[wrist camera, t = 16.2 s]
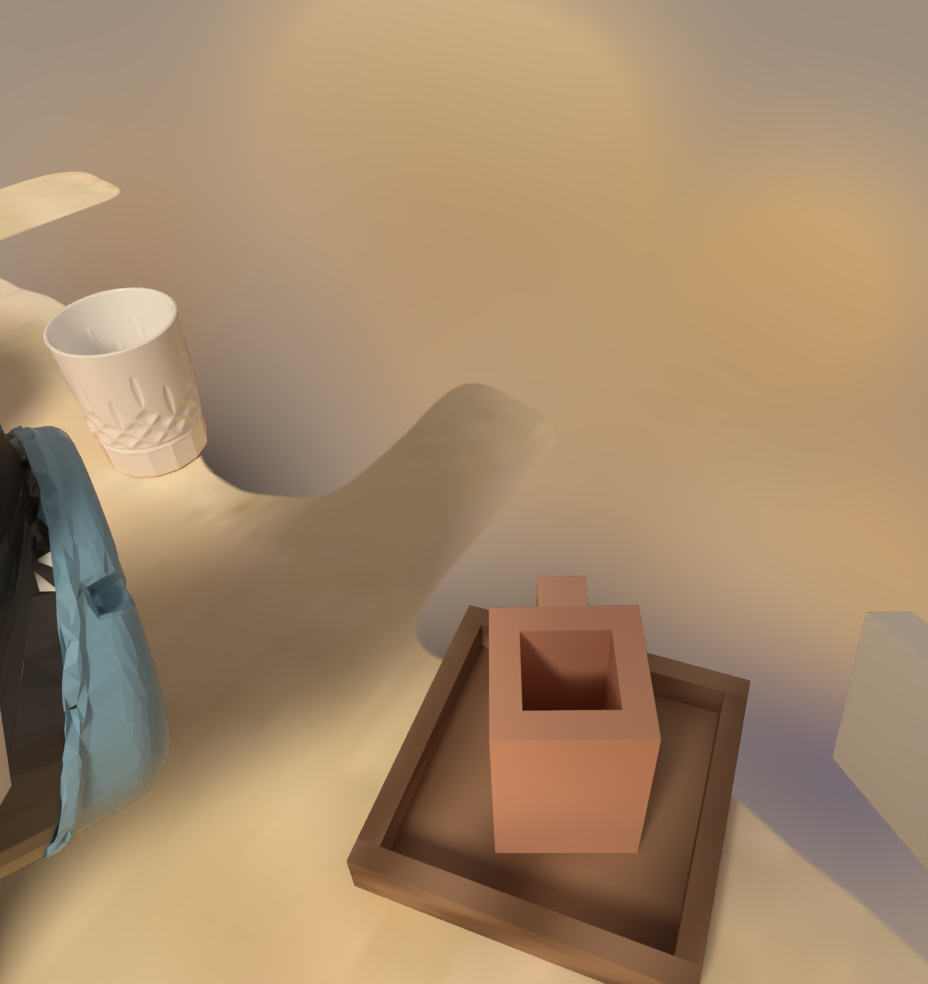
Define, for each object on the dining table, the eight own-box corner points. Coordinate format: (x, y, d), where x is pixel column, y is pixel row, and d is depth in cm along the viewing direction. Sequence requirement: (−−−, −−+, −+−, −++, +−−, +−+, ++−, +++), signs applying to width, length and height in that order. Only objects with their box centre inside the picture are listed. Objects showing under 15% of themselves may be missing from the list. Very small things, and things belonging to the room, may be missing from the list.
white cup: (170, 398, 62) (127, 275, 56) (240, 437, 59) (203, 310, 52) (76, 455, 58) (17, 329, 51) (146, 501, 54) (91, 372, 47)
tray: (354, 885, 36) (346, 861, 34) (471, 633, 45) (469, 604, 44) (688, 1015, 32) (697, 995, 30) (741, 709, 41) (749, 680, 40)
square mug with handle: (495, 853, 36) (489, 740, 30) (494, 698, 42) (488, 577, 35) (637, 852, 36) (661, 739, 30) (617, 697, 41) (633, 575, 35)
